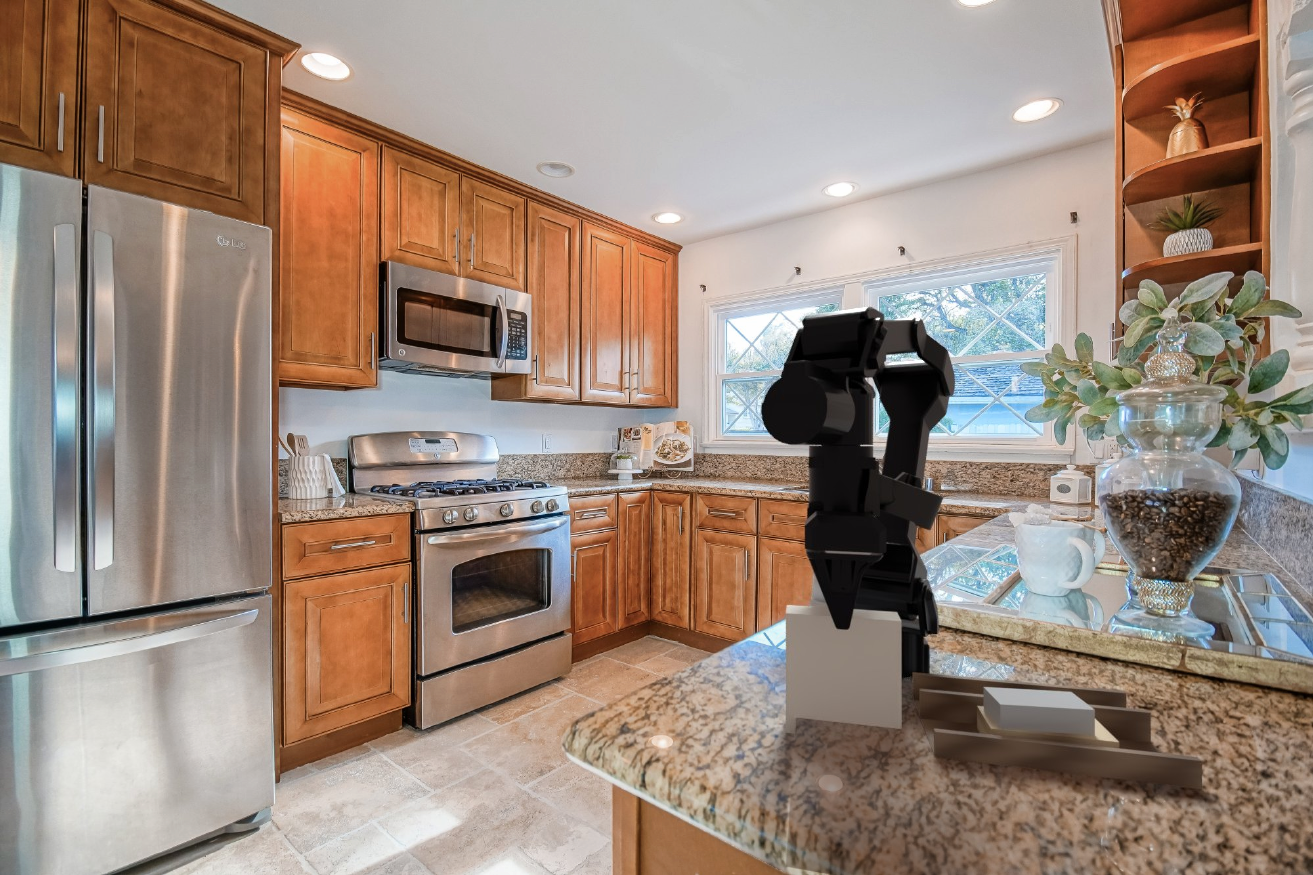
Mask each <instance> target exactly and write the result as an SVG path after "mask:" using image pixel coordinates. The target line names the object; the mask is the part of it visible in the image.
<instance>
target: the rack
mask: <svg viewBox="0 0 1313 875" xmlns="http://www.w3.org/2000/svg"><path fill="white" fill-rule="evenodd" d="M984 687H994V688H1012V689H1030V690H1047V691H1065V692H1072V693H1073V694H1075V695H1076V696H1077V697H1079V698H1080V699H1081V700H1083V701H1084V702H1085V703H1086V704H1088V705H1089V706H1090V707H1092V708H1093V709H1094V710H1095V719H1096V720H1097V721H1098V722H1099V723H1100V724H1101V725H1102V726H1103V727H1104V728H1105V729H1106V730H1107V731H1108V732H1109V733H1110V734H1111V735H1112V736H1114V737H1115V738H1116V739H1117V740H1118V741H1119V748H1110V747H1101V746H1091V745H1082V744H1073V743H1064V742H1054V741H1045V740H1036V739H1027V738H1017V737H1008V736H999V735H990V734H981V733H979V731H978V729H977V706H984ZM909 692H910V695H911V697H912V699H913V703H914V705H915V708H916V711H917V714H918V716H919V719H920V722H921V723H922V726H923V729H924V732H925V735H926V737H927V739H928V742H929V745H930V747H931V750H932V753H933V756H934V758H937V759H947V760H952V761H954V760H955V761H961V762H963V761H964V762H971V763H977V764H978V763H980V764H986V765H987V764H988V765H996V766H1004V767H1013V768H1022V769H1029V770H1036V771H1037V770H1039V771H1046V772H1054V773H1055V772H1056V773H1062V774H1071V775H1079V776H1088V777H1096V778H1106V779H1111V780H1112V779H1114V780H1122V781H1129V782H1130V781H1131V782H1137V783H1147V784H1154V785H1163V786H1170V787H1172V786H1173V787H1179V788H1188V789H1189V788H1190V789H1197V790H1203V760H1202V759H1200V758H1199V757H1198V756H1192V755H1181V754H1174V753H1163V752H1162V751H1161V750H1160V749H1159V748H1158V747H1157V746H1156V745H1154V744H1153V743H1152V726H1151V724H1152V720H1151V719H1152V712H1150V711H1149V710H1148V709H1140V708H1129V707H1127V693H1126V692H1125V691H1124V690H1119V689H1118V690H1117V689H1107V688H1098V687H1096V688H1095V687H1084V686H1073V685H1061V684H1052V683H1051V684H1050V683H1039V682H1027V681H1017V680H1007V679H1006V680H1004V679H995V678H984V677H972V676H971V677H970V676H959V675H949V674H947V675H946V674H940V673H939V674H938V673H937V674H936V673H930V674H927V673H916V672H913V677H912V691H909Z"/></svg>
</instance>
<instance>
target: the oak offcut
mask: <svg viewBox="0 0 1313 875" xmlns="http://www.w3.org/2000/svg"><path fill="white" fill-rule="evenodd" d="M977 729H978V731H979V733H981V734H990V735H999V736H1008V737H1017V738H1027V739H1036V740H1045V741H1054V742H1064V743H1073V744H1082V745H1091V746H1101V747H1110V748H1119V741H1118V740H1117V739H1116V738H1115V737H1114V736H1112V735H1111V734H1110V733H1109V732H1108V731H1107V730H1106V729H1105V728H1104V727H1103V726H1102V725H1101V724H1100V723H1099V722H1098V721H1097V720H1096V719H1095V735H1084V734H1068V733H1053V732H1037V731H1022V730H1007V729H1000V728H999V727H998V726H997V725H996V724H995V722H994V721H993V720H992V719H991V718H990V717H989V716H988V714H987V713H986V712H985V711H984V706H977Z"/></svg>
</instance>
